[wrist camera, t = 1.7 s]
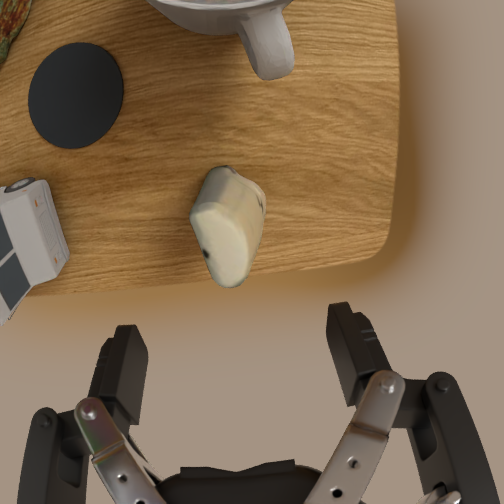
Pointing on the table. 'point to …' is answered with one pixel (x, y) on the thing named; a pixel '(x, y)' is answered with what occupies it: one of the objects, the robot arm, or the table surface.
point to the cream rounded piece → (228, 224)
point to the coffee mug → (240, 28)
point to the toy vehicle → (27, 241)
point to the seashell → (11, 22)
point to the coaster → (75, 95)
